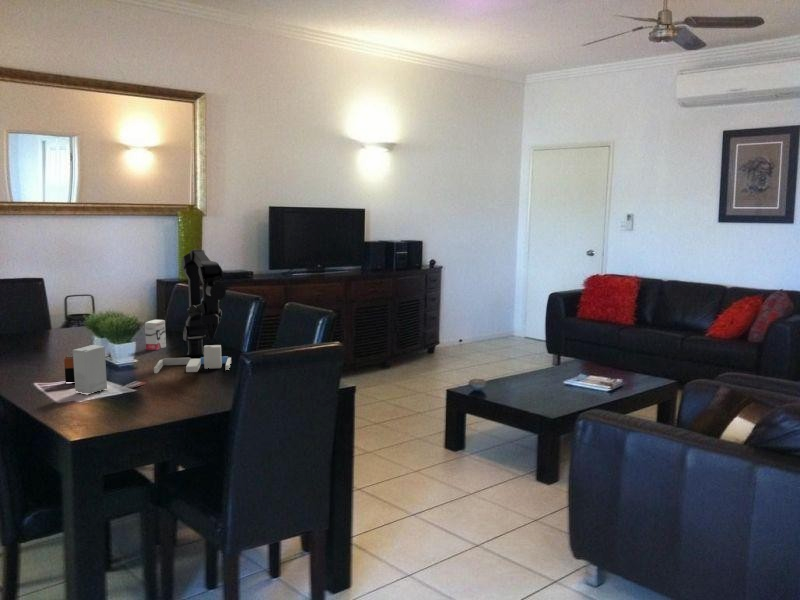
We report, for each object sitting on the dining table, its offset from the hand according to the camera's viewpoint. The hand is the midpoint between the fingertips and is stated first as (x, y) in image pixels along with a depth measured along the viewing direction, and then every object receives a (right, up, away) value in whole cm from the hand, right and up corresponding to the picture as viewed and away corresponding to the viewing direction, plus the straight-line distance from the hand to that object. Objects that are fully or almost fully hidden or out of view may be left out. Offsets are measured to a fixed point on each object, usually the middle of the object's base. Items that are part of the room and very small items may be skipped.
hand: (212, 338), depth 271 cm
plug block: (0, -11, +2) cm, 11 cm away
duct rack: (-7, -11, 0) cm, 13 cm away
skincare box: (-30, -16, -35) cm, 49 cm away
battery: (-41, -14, -22) cm, 48 cm away
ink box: (-33, -6, +37) cm, 50 cm away
